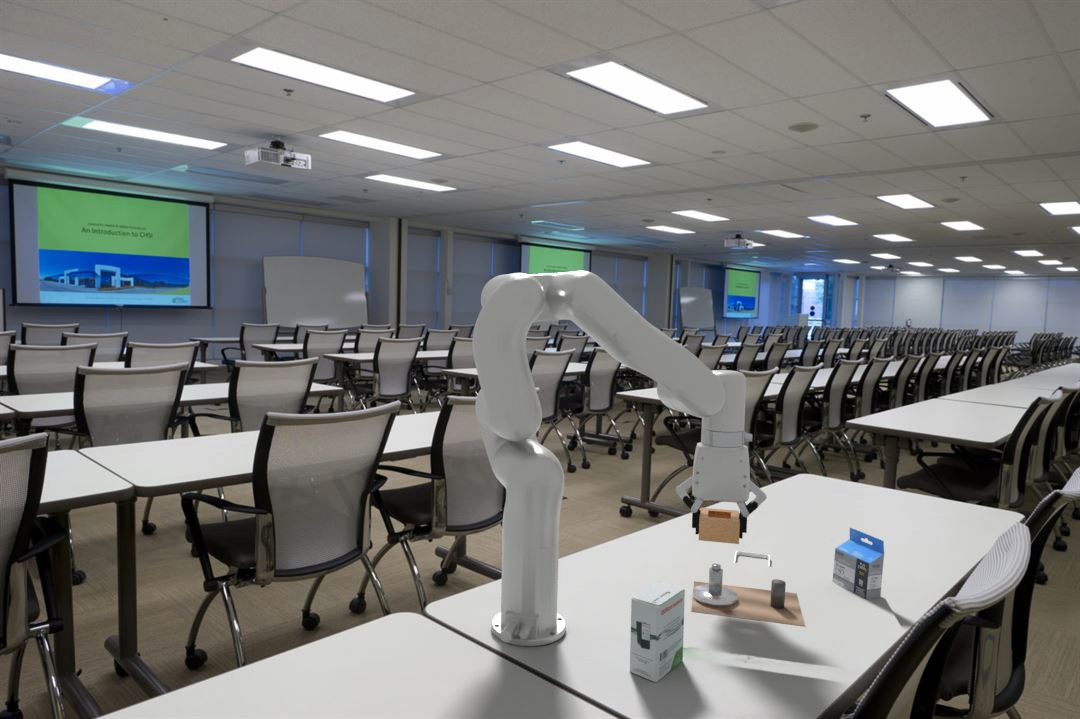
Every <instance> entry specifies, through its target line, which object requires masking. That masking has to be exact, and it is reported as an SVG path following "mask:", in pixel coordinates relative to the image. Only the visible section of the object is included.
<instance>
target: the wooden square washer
mask: <svg viewBox="0 0 1080 719" xmlns="http://www.w3.org/2000/svg"><path fill="white" fill-rule="evenodd" d="M699 510H701V511H700V517H699V534H698V541H703V542H711V543H712V542H714V543H723V544H733V545H739V544H740V538H739V531H740V519H739V513H740V510H735V509H734V510H733V509H721V508H713V507H711V508H710V507H701V506H700V507H699Z"/></svg>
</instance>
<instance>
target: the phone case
mask: <svg viewBox="0 0 1080 719" xmlns="http://www.w3.org/2000/svg"><path fill="white" fill-rule="evenodd" d="M737 556H745V557H751V558H752V557H753V558H759V559H766V558H767V560H768V564H767V565H768V567H771V555H770V554H766V553H765V554H764V553H757V552H752V551H751V552H750V551H744V550H743V551H742V550H736V551H735V553H734V558H733V563H734V564H736V561H737Z"/></svg>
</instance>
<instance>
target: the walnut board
mask: <svg viewBox="0 0 1080 719" xmlns="http://www.w3.org/2000/svg"><path fill="white" fill-rule="evenodd" d="M705 584H709V582H702V581H693V589H694V588H695V587H696V586H699V585H705ZM722 586H724V587H727V588H730V589H732V590H733V591H735V592H736V593H737V603H736V604H735V605H734V606H731V607H726V608H716V607H710V606H706V605H703V604H700V603H698V602H697V601H695V600H694V598H693V597H692V599H691V600H692V601H691V608H690V609H691V610H690V611H691V612H692V613H698V614H704V615H706V614H707V615H712V616H713V615H714V616H720V617H721V616H722V617H727V618H728V617H729V618H736V619H744V620H753V621H761V622H766V623H769V622H770V623H776V624H782V625H790V626H799V627H806V624H805V620H804V616H803V613H802V609H801V605H800V601H799V597H798V594H797V592H796V593H795V592H786V581H785V580H782V579H776V578H775V579H774V578H773V579H771V586H770V589H764V588H763V589H762V588H753V587H745V586H737V585H730V584H729V585H727V584H722ZM693 589H692V590H693Z"/></svg>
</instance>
